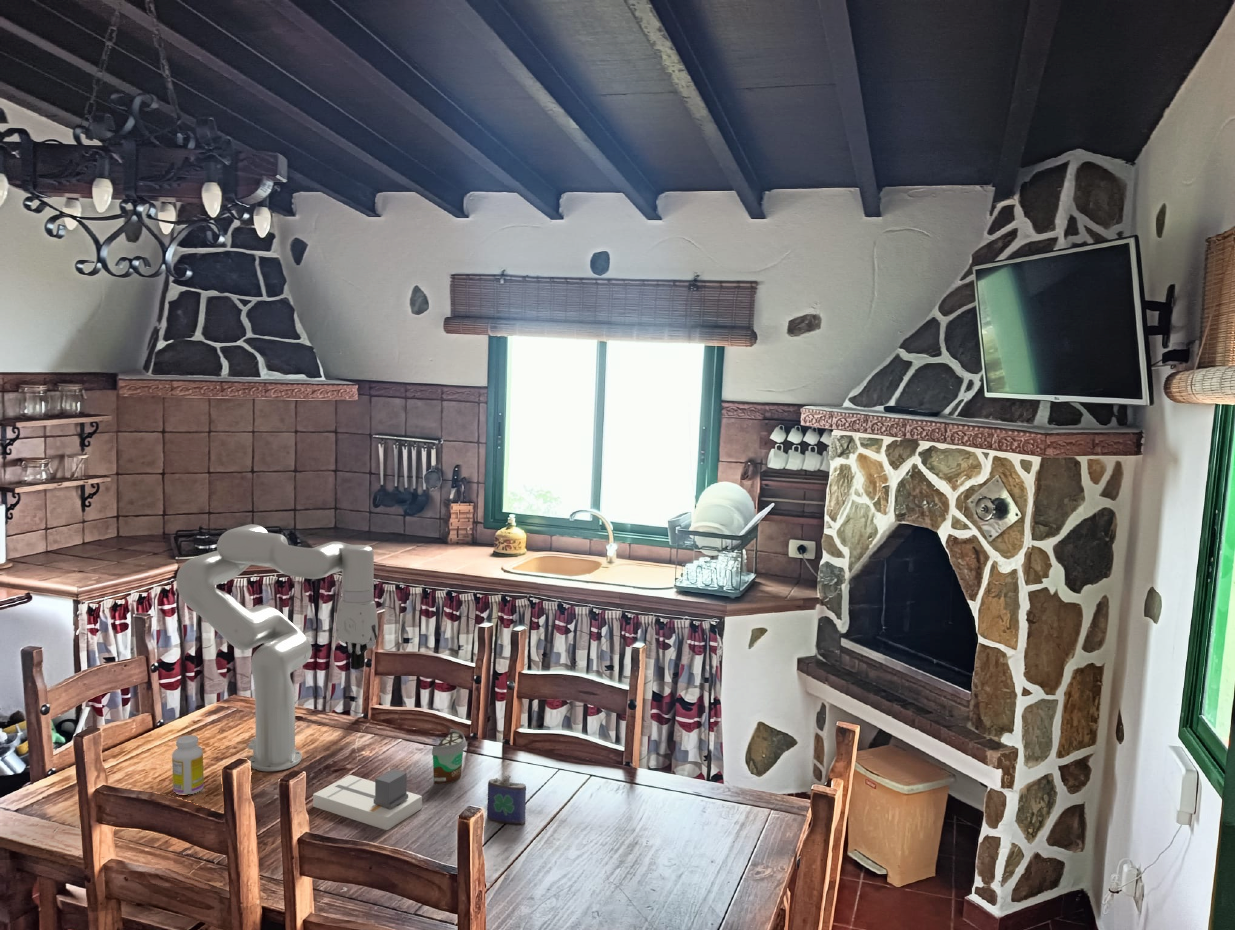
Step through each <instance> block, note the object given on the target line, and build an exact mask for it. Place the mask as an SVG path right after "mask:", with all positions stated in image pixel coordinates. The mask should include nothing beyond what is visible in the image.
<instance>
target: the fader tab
mask: <svg viewBox="0 0 1235 930" xmlns="http://www.w3.org/2000/svg"><path fill="white" fill-rule="evenodd" d="M407 776H408V774H407V772H405V771H402V770H398V769H395V768H391V770H388V771H387V772H385V773H383V774H381V775H380V776H378V777H376V778H375V781H374V782H375V799H374V804H376V805H380V806H383V807H386V808H389V809H391V808H393V807H395V806H396V805H398V804H400V803H401V802H403V801H405V800H406V799H408V794H407V792H408V791H407V788H408V787H407V786H408V785H407V784H408V783H407V782H408V780H407Z"/></svg>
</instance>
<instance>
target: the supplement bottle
mask: <svg viewBox="0 0 1235 930" xmlns="http://www.w3.org/2000/svg"><path fill="white" fill-rule="evenodd" d="M175 743H176V744H175V745H176V747H177V748H176V749H174V751H173V752H172V755H171V757H172V760H171V761H172V763H171V764H172V767H171V768H172V789H173V793H174V792H176V793H178V794H193V793H196V794H198V793H200V792H201V791H203V789H204V786H205V784H204V781H205V780H204V778H205V777H204V750H203V748H202V747H201V746H200V745H198V743H199V737H198V736H197V735H193V734H191V735H190V734H189V735H183V736H180V737H178V738H176V741H175ZM199 791H200V792H199ZM197 792H198V793H197ZM193 795H194V794H193Z"/></svg>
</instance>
